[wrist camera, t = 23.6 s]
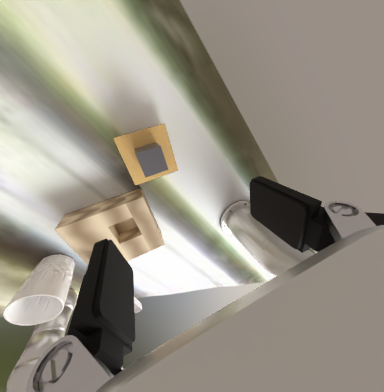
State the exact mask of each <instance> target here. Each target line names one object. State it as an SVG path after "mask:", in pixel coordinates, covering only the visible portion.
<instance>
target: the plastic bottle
mask: <svg viewBox="0 0 384 392" xmlns="http://www.w3.org/2000/svg"><path fill="white" fill-rule="evenodd" d="M76 302H77V294H76V292H75V291H74V290H72V289H69V291H68V295H67V298H66V301H65V305H64V308H63V310H62V312H61V313H60V314H59V315H58V316H57V317H55V318H53V319H51V320H49V321H47V322H44V323H41V324H36V326H35V329H34V332H33V334H32V336H31V339H30V340H29V342H28V344H27V346H26V348H25V350H24V352H23V354H22V356H21V358H20V359H19V361H18V362H17V364H16V366H15V368H14V369H13V371H12V373H11V375H10V377H9V379H8V382H7V388H6V389H7V392H26V387H27V383H28V379H29V377H30V375H31V372H32V370H33V368H34V367H35V365H36V363H37V362H38V360H39V359H40V357H41V356H42V355H43V354H44V352H45V351H46V350H47V349H48V348H49V347H50V346H51V345H52V344H53V343H55V342H56V341H57V340H59V339H60V338H62V337H64V334H65V331H66V327H67V324H68V322H69V319H70V316H71V314H72V312H73V310H74V308H75V306H76Z"/></svg>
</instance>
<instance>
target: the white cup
mask: <svg viewBox="0 0 384 392" xmlns="http://www.w3.org/2000/svg"><path fill="white" fill-rule="evenodd" d="M74 267H75V262H74V260H73V259H72V258H71V257H69V256H67V255H61V254H57V255H50V256H48V257H45V258H43V259H42V260H41V261H40V262H39V263H38V264H37V266H36V267H35V269H34V270H33V271H32V272H31V273H30V275H29V276H28V277H27V279H26V280H25V281H24V283H23V284H22V286H21V287H20V288H19V290H18V291H17V293H16V294H15V295H14V297H13V298H12V300H11V301H10V302H9V304H8V305H7V307H6V308H5V310H4V312H3V316H4V318H5V319H6V320H7V321H8V322H10V323H12V324H16V325H36V324H41V323H44V322H47V321H49V320H51V319H53V318H55V317H57V316H58V315H59V314H60V313H61V312H62V310H63V308H64V305H65V301H66V298H67V295H68V291H69V288H70V284H71V280H72V276H73V271H74Z"/></svg>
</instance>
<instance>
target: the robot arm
mask: <svg viewBox="0 0 384 392" xmlns="http://www.w3.org/2000/svg"><path fill="white" fill-rule="evenodd" d="M321 203H322V201H319V200H317V199H315V198H312V197H310V196H307V195H305V194H302V193H300V192H297V191H295V190H293V189H290V188H288V187H286V186H283V185H281V184H278V183H276V182H274V181H271V180H269V179H266V178H264V177H261V176H259V177H256V178H254V179H252V180H251V182H250V203H249V202H247V201H238V202H236V203H234V204H232V205H231V206H229V207H228V208H227V209H226V210H225V212H224V213H223V215H222V218H221V223H220V224H221V228H222V230H223V231H224V232H225V233H226V234H228V235H234V236H235V237H236V238H237V239H238V240H239V242H240V243H241V244H242V245H243V246H244V247H245V248H246V249H247V250H248V251H249V252H250V253H251V254H252V256H253V257H254V258H255V259H256V260H257V261H258V262H259V263H260V264H261V265H262V266H263V267H264V268H265V269H266V270H267V271H268V272H270V273H271V274H274V275H276V277H275V278H273V279H271V280H270V281H268V282H266V283H265V284H263V285H261V286H260V287H258V288H256V289H255V290H253V291H251V292H249V293H248V294H246V295H244V296H243V297H241V298H240V299H238V300H236V301H234V302H233V303H231V304H229V305H228V306H226V307H224V308H222V309H221V310H219V311H217V312H216V313H214V314H212V315H211V316H209V317H207V318H206V319H204V320H202V321H201V322H199V323H197V324H196V325H194V326H192V327H191V328H189V329H187V330H186V331H184V332H182V333H181V334H179V335H177V336H176V337H174V338H172V339H171V340H169V341H168V342H166V343H164V344H163V345H161V346H160V347H158V348H156V349H155V350H153V351H152V352H150V353H148V354H147V355H145V356H144V357H142V358H140V359H139V360H137V361H136V362H134V363H133V364H131V365H130V366H128V367H127V368H125V369H124V368H123V367H122V365H123V356H124V355H126V354H128V353H130V352H131V351H132V342H134V340H135V315H134V286H133V271H132V268H131V267H130V265H129V264H128V262H127V261H126V259H125V258H124V257H123V255H122V254H121V252H120V251H119V249H118V248H117V247H116V245H115V244H114V242H113V241H112V240H108V239H104V240H101V241H99V242H96V243H95V244H94V246H93V250H92V254H91V257H90V261H89V265H88V268H87V272H86V274H85V275H84V278H83V281H82V285H81V288H80V292H79V295H78V299H77V302H76V306H75V309H74V313H73V316H72V320H71V324H70V327H69V330H68V334H67V336H65V337H62V338H60V339H59V340H57V341H56V342H55V343H53V344H52V345H51V346H50V347H49V348H48V349H47V350H46V351H45V352H44V354H43V355H42V356H41V357H40V359H39V360H38V362H37V363H36V365H35V367H34V368H33V370H32V372H31V375H30V377H29V379H28V383H27V387H26V392H384V214H380V213H365V212H364V211H363V210H362V209H361V208H359V207H358V206H356V205H353V204H351V203H347V202H343V201H332V202H328V203H326V204H325V206H324V207H321ZM310 247H311V248H312V249H313V250H314V253H315V254H313V253H311V252H310V251H308V250H309V248H310Z"/></svg>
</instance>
